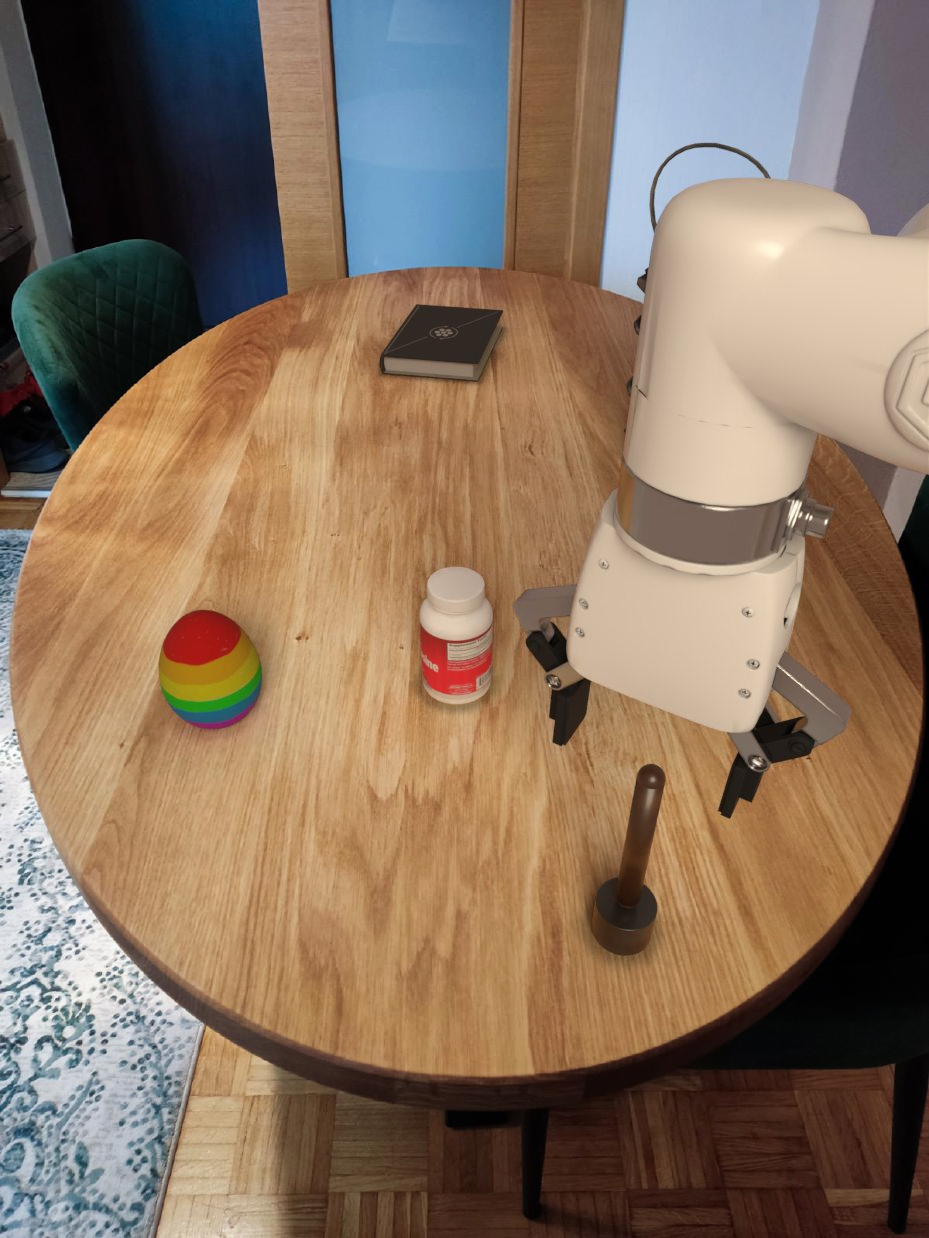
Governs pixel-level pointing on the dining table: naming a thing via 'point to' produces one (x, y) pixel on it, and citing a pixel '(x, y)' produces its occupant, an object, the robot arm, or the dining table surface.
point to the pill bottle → (456, 636)
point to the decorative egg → (209, 670)
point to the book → (442, 343)
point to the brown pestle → (632, 875)
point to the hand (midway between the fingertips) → (647, 762)
